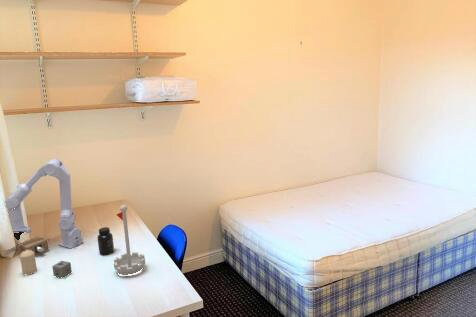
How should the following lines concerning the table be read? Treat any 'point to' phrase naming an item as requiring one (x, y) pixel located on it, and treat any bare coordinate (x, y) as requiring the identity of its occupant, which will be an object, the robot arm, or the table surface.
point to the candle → (28, 262)
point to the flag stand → (128, 252)
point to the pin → (39, 249)
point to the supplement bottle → (105, 241)
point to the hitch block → (33, 245)
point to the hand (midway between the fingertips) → (20, 244)
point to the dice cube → (62, 269)
